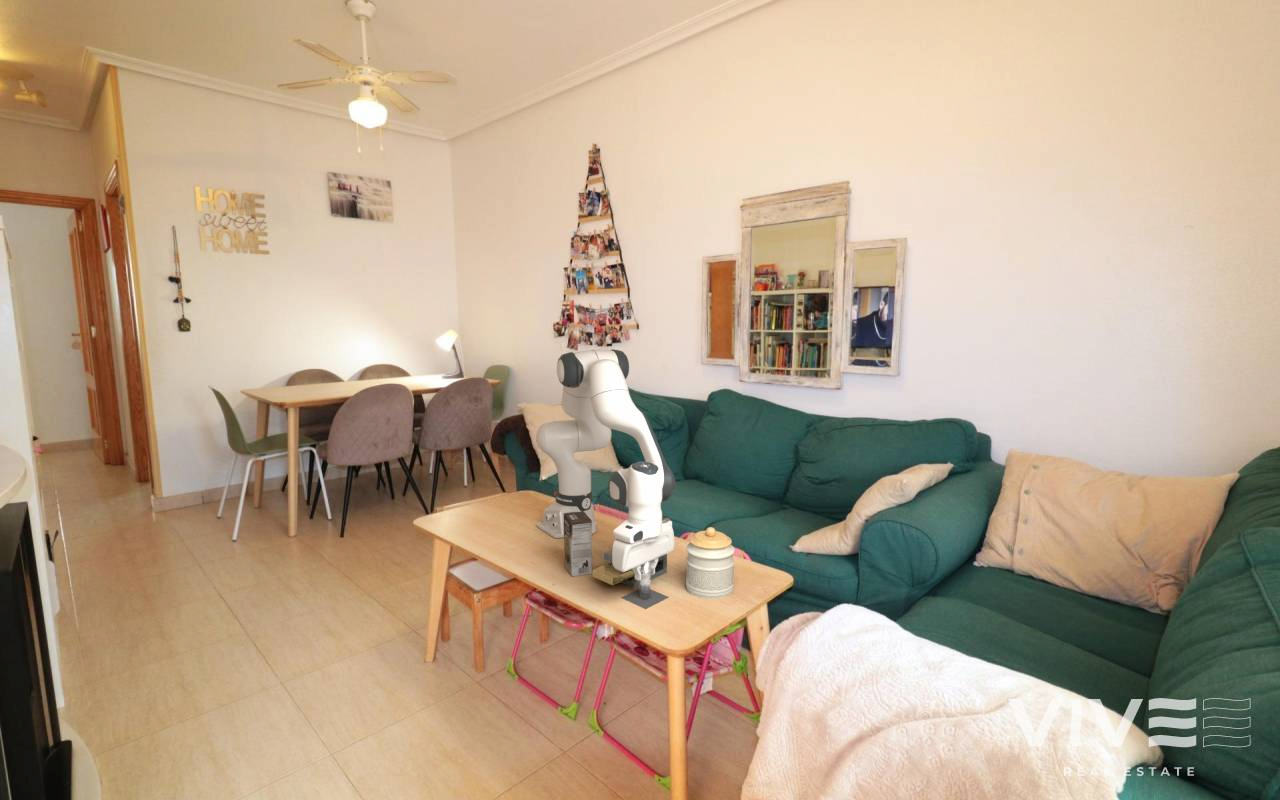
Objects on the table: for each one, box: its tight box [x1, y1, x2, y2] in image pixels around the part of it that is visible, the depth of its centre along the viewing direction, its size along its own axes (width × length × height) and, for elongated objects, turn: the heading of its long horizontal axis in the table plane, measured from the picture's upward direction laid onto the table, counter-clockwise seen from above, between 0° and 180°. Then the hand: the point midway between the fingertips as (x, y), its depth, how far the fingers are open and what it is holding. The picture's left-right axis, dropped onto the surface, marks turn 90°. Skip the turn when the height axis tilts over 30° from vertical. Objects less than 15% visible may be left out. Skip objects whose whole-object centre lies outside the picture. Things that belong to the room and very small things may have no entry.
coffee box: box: [563, 511, 593, 577], centre depth 171 cm, size 9×6×16 cm
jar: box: [685, 526, 736, 600], centre depth 158 cm, size 13×13×18 cm
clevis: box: [592, 548, 668, 589], centre depth 166 cm, size 12×20×7 cm, turn 136°
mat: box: [620, 588, 670, 610], centre depth 154 cm, size 9×9×1 cm
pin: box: [638, 561, 652, 600], centre depth 153 cm, size 3×3×10 cm
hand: (644, 576), depth 153 cm, fingers closed on pin, 3 cm apart
